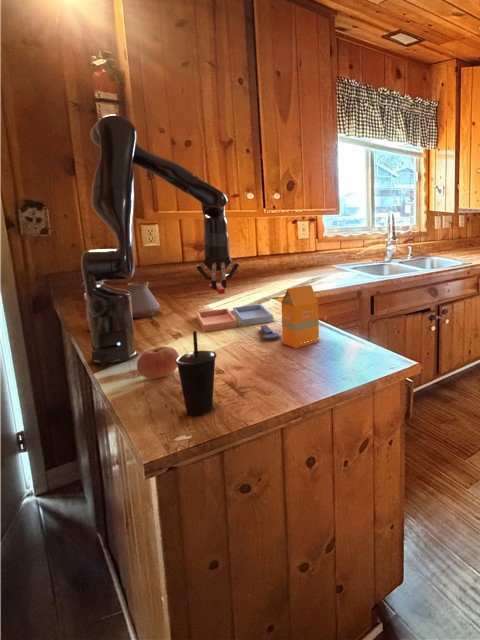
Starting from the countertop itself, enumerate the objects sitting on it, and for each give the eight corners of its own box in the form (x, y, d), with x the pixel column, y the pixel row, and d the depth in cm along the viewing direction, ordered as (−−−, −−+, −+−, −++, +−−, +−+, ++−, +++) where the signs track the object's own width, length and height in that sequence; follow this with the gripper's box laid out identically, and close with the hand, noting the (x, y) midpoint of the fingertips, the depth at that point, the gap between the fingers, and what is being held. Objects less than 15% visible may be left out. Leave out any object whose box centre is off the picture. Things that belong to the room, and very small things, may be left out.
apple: (182, 376, 114) (181, 349, 112) (140, 386, 107) (137, 357, 106) (176, 366, 119) (174, 340, 118) (135, 375, 113) (133, 348, 112)
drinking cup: (226, 403, 101) (222, 326, 98) (204, 420, 94) (199, 337, 91) (195, 402, 101) (190, 325, 98) (170, 419, 93) (164, 336, 90)
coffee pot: (159, 308, 170) (156, 273, 167) (161, 315, 161) (158, 279, 159) (85, 317, 155) (81, 279, 153) (83, 325, 147) (79, 285, 145)
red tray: (237, 326, 154) (236, 320, 154) (203, 331, 147) (203, 325, 147) (227, 314, 168) (227, 308, 168) (196, 318, 161) (196, 312, 161)
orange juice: (319, 341, 145) (318, 286, 142) (295, 348, 137) (293, 290, 134) (306, 336, 148) (304, 283, 146) (282, 343, 141) (280, 287, 138)
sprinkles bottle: (102, 326, 147) (98, 290, 145) (108, 328, 145) (105, 292, 143) (85, 329, 143) (81, 292, 141) (91, 332, 141) (87, 294, 139)
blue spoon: (256, 331, 151) (255, 326, 151) (271, 328, 154) (271, 324, 154) (265, 341, 141) (265, 336, 141) (281, 338, 145) (281, 334, 144)
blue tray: (272, 321, 162) (272, 315, 162) (242, 325, 155) (242, 319, 155) (261, 309, 176) (260, 304, 176) (233, 313, 169) (232, 307, 169)
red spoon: (230, 293, 149) (229, 288, 149) (213, 294, 146) (213, 290, 146) (224, 285, 159) (223, 281, 159) (208, 287, 156) (208, 282, 155)
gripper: (194, 246, 142) (197, 294, 145) (240, 244, 152) (242, 289, 154) (191, 243, 148) (195, 289, 150) (236, 241, 157) (239, 285, 160)
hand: (219, 289), depth 152 cm, fingers closed on red spoon, 2 cm apart
